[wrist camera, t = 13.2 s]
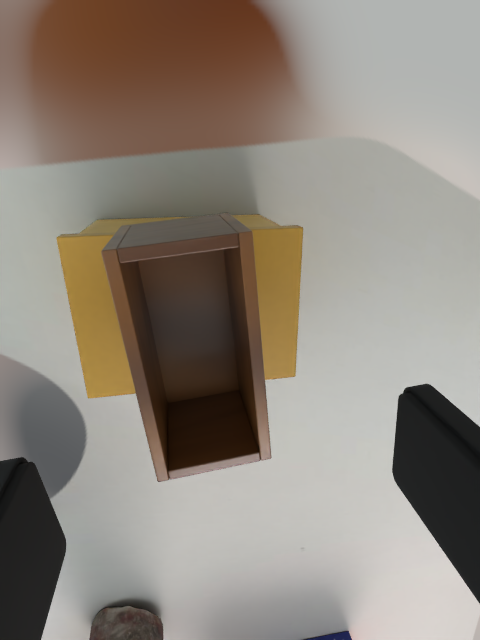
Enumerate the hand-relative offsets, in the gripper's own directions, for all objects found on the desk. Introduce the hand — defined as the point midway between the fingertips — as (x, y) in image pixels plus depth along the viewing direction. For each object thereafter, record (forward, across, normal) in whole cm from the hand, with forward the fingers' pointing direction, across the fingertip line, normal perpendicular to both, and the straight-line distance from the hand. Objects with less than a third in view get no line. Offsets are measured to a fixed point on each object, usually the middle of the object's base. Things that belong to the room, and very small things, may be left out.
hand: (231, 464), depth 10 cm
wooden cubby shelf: (+11, +1, 0) cm, 11 cm away
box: (+19, +1, 0) cm, 19 cm away
